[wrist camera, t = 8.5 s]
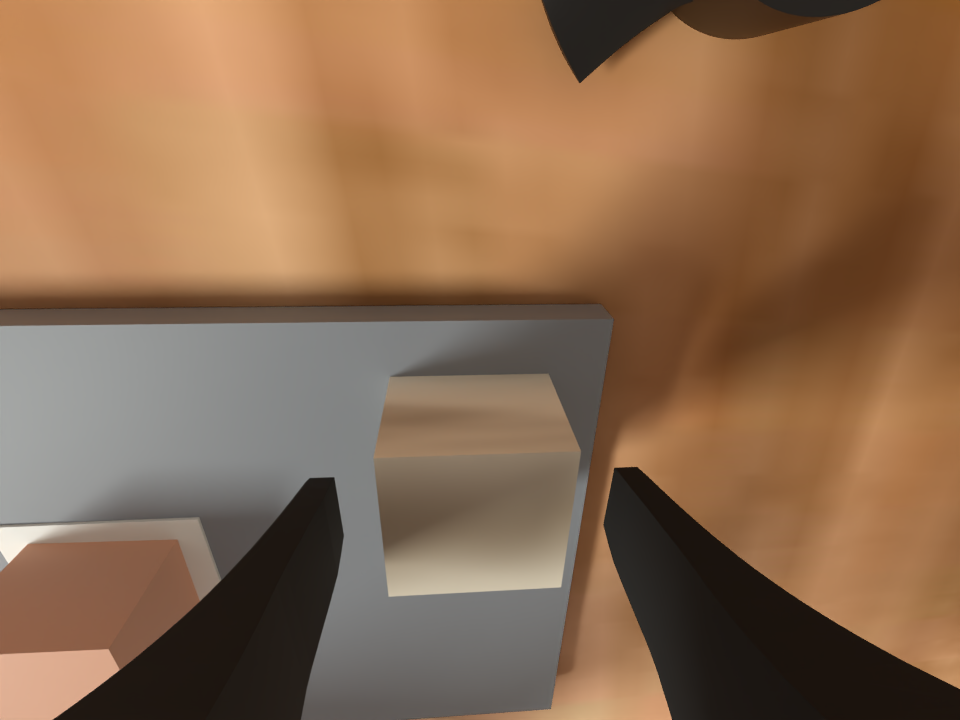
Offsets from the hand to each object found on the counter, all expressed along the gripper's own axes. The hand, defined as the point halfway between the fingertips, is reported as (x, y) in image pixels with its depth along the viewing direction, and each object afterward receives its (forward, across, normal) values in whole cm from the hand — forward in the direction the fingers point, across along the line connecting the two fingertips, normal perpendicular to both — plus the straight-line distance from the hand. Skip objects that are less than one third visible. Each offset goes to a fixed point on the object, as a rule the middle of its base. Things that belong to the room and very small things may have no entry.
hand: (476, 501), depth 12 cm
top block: (+3, 0, 0) cm, 3 cm away
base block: (+3, +12, +6) cm, 14 cm away
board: (+4, +7, +6) cm, 10 cm away
